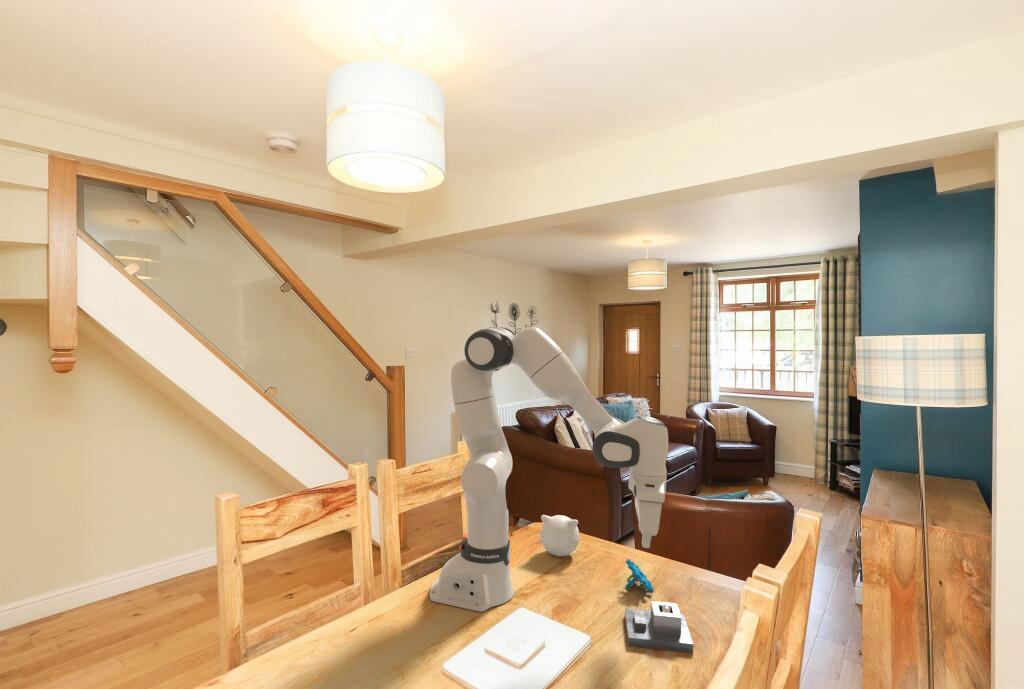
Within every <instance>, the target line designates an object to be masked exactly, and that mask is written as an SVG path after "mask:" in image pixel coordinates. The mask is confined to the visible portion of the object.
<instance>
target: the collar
mask: <svg viewBox="0 0 1024 689" xmlns="http://www.w3.org/2000/svg"><path fill="white" fill-rule="evenodd" d="M663 605H668V606H669V607H670V613H664V612H662V606H663ZM650 611H651V621H652V626H653V631H654V632H657V633H667V634H677V635H681V615H680V614H681V612H680V608H679V607H678V604H677V603H675V602H665V601H663V602H662V601H654V600H653V601H652V600H651V601H650Z"/></svg>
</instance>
